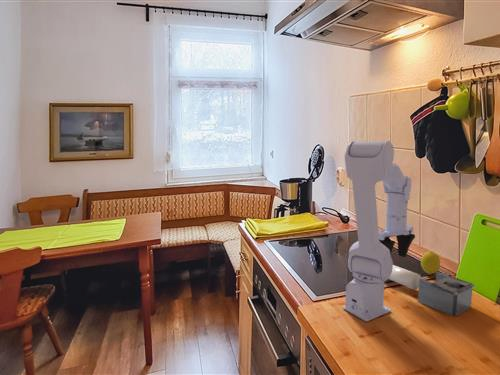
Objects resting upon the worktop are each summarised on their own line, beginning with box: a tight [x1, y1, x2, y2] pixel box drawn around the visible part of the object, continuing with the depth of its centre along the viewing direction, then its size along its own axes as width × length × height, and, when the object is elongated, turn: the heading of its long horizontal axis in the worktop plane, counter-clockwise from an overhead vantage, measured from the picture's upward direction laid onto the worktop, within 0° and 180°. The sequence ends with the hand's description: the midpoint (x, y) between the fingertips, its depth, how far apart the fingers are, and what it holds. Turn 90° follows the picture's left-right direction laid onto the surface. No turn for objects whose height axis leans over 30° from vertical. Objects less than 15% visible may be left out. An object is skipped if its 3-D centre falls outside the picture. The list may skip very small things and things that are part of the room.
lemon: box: [420, 250, 441, 276], centre depth 107 cm, size 6×6×8 cm
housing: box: [417, 271, 476, 317], centre depth 88 cm, size 10×9×6 cm
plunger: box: [447, 280, 460, 289], centre depth 86 cm, size 3×3×2 cm
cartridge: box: [388, 264, 422, 291], centre depth 100 cm, size 10×5×5 cm, turn 31°
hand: (394, 258), depth 101 cm, fingers open, 7 cm apart
